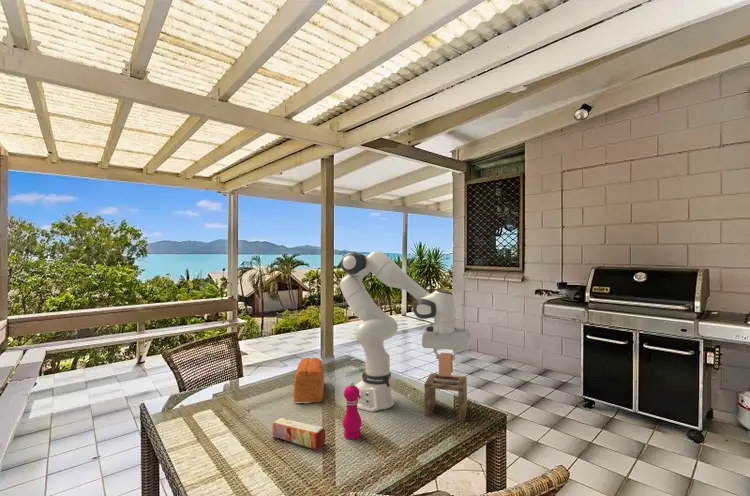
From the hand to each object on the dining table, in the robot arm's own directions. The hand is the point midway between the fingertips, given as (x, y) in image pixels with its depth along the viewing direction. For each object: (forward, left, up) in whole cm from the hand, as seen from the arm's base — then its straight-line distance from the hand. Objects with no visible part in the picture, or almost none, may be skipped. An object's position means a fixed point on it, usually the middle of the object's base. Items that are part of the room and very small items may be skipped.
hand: (445, 359), depth 151 cm
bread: (-68, +1, -23) cm, 72 cm away
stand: (0, 0, -23) cm, 23 cm away
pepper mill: (-31, -31, -23) cm, 49 cm away
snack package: (-48, -41, -23) cm, 68 cm away
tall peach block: (0, 0, -6) cm, 6 cm away
